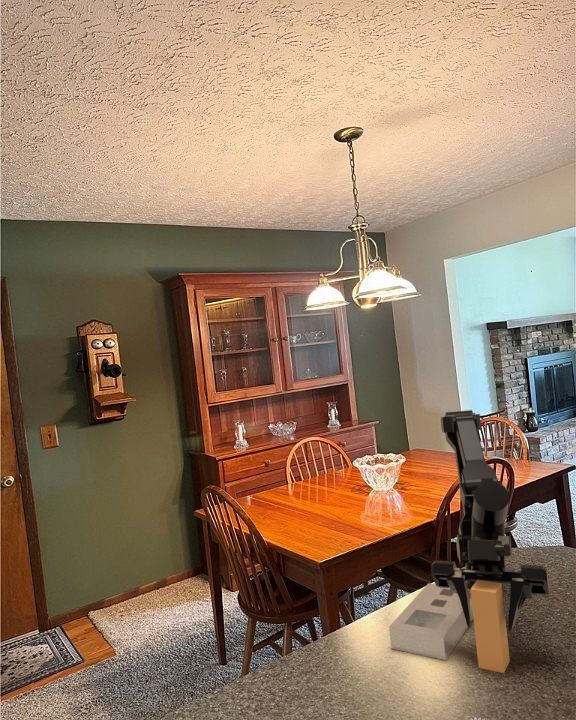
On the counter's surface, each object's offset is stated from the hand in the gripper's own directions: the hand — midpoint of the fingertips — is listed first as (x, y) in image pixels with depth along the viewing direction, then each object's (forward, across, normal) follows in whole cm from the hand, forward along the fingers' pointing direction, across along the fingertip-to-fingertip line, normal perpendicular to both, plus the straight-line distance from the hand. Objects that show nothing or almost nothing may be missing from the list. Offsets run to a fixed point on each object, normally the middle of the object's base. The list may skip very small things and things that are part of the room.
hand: (489, 628), depth 93 cm
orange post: (+4, 0, +6) cm, 7 cm away
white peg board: (-3, -11, +13) cm, 17 cm away
